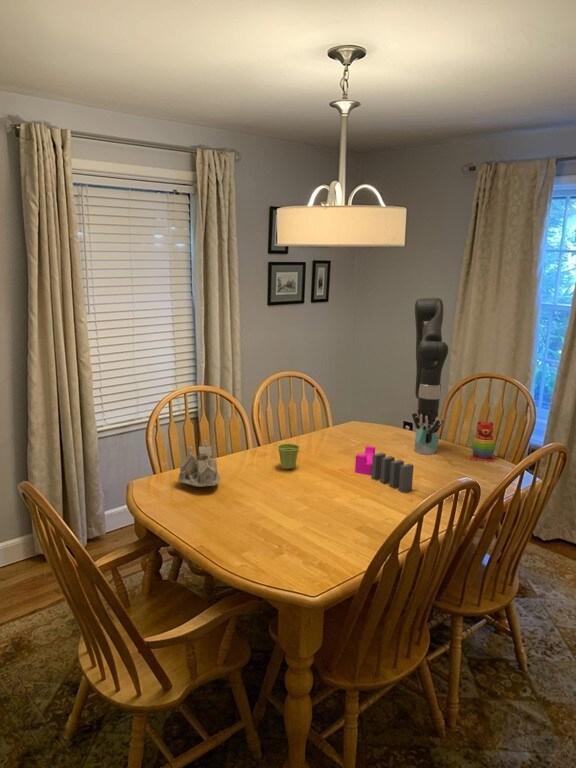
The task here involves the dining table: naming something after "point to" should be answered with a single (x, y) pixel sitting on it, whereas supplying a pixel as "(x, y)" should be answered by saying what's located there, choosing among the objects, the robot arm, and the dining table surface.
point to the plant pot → (288, 455)
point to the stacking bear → (483, 443)
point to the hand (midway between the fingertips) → (425, 442)
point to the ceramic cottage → (199, 468)
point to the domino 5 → (422, 439)
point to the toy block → (365, 461)
